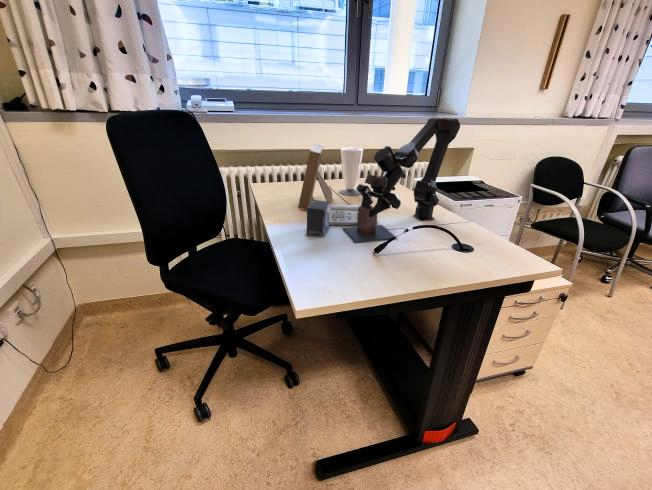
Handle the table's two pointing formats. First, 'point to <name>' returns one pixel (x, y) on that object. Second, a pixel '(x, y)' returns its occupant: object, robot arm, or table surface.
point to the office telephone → (343, 215)
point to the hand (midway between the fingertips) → (364, 214)
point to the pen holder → (366, 221)
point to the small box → (317, 218)
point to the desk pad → (379, 235)
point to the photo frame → (313, 178)
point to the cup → (351, 168)
